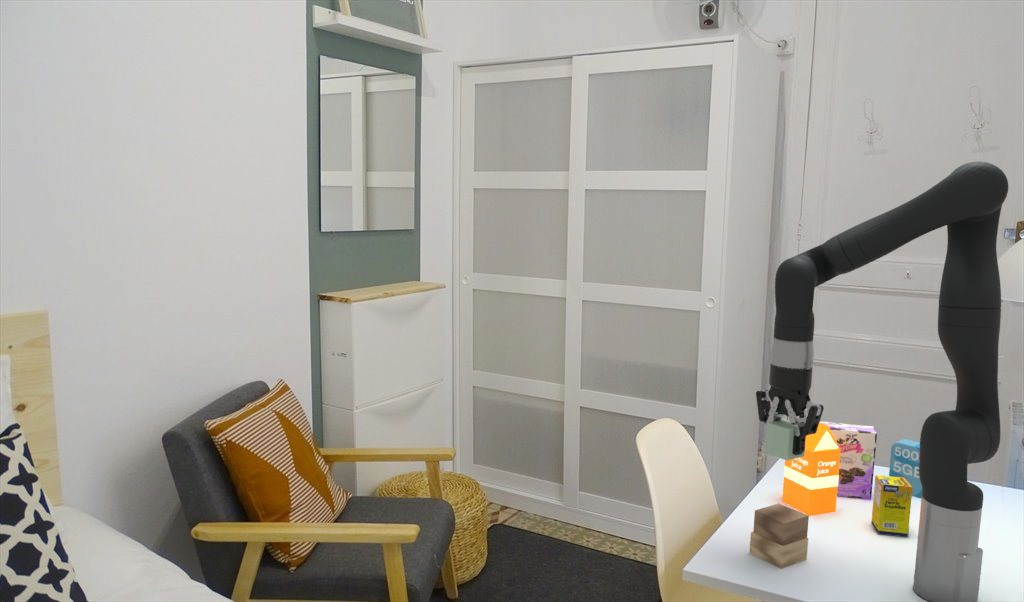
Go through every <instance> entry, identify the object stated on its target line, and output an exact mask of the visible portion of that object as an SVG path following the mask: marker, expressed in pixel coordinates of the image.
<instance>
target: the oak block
mask: <svg viewBox="0 0 1024 602" xmlns="http://www.w3.org/2000/svg"><path fill="white" fill-rule="evenodd" d="M749 539H750V541H749V551H748V553H749V554H750V555H752V556H753V557H754V556H755V557H757V558H758V559H761V560H762V561H764V562H767V563H769V564H771V565H773V566H775V567H777V568H779V569H784V568H787V567H790V566H792V565H795V564H797V563H801V562H803V561H807V560H808V559H807V558H808V547H809V546H808V545H809V538H808V537H807V538H806V539H803V540H800V541H797V542H794V543H791V544H788V545H785V546H782V545H780V544H777V543H775V542H773V541H771V540H769V539H767V538H764V537H762V536H760V535H758V534H756V533H754V532H753V531H751V532H750V537H749Z"/></svg>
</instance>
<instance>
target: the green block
mask: <svg viewBox="0 0 1024 602" xmlns="http://www.w3.org/2000/svg"><path fill="white" fill-rule="evenodd" d="M766 428H767V429H766V438H765V439H766V443H765V454H766V455H767V454H768V455H771V456H773V457H775V458H779V459H782V460H784V461H785V460H787V461H788V460H792V459H796V458H800V457H804V455H805V450H804V452H803V453H802V454H800V455H794V454H793V453H792V451H793V438H794V435H795V433H794V428H793V425H792V424H791V423H790V419H783V418H782V419H781V420H780V421H779V420H778V421H774V422H768V424H767V425H766ZM800 428H801V427H800ZM805 442H806V441H805Z"/></svg>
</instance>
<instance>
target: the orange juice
mask: <svg viewBox="0 0 1024 602" xmlns="http://www.w3.org/2000/svg"><path fill="white" fill-rule="evenodd" d="M840 452H841V449H840V448H839V446H838V444H837V442H836V440H835V438H834V436H833V434H832V432H831V430H830V428H829V426H828V425H825V424H822V423H820V422H819V425H818V429H817V432H816V433H815V434H810V435H807V436H806V442H805V455H804V457H800V458H796V459H792V460H788V461H787V460H784V467H783V469H784V470H783V485H782V499H781V500H782V501H783V502H782V501H781V502H782V503H784V502H785V503H784V504H786V503H787V504H786V505H788V504H789V505H791V506H793V507H794V508H793V507H792V508H793V509H795V508H796V509H795V510H797V509H798V510H797V511H799V510H800V511H799V512H801V511H802V512H801V513H803V514H804V513H805V514H806V515H808V516H809V517H810V516H811V515H812V516H818V515H824V514H829V513H836V509H837V500H838V496H837V489H838V480H839V464H840ZM789 505H788V506H789ZM791 506H790V507H791Z"/></svg>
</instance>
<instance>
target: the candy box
mask: <svg viewBox="0 0 1024 602" xmlns="http://www.w3.org/2000/svg"><path fill="white" fill-rule="evenodd" d="M820 423H822V424H825V425H828V426H829V428H830V430H831V432H832V434H833V436H834V438H835V440H836V442H837V444H838V446H839V448H840V449H841V452H840V464H839V480H838V489H837V497H843V498H844V497H845V498H851V499H858V500H859V499H860V500H869V501H871V500H872V494H873V482H874V471H875V462H876V461H875V460H876V450H877V449H876V448H877V439H878V433H877V431H876V428H875V427H874V426H872V425H859V424H850V423H841V422H830V421H821V420H820Z"/></svg>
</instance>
